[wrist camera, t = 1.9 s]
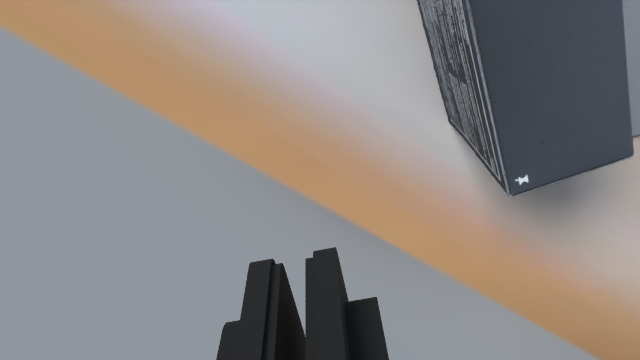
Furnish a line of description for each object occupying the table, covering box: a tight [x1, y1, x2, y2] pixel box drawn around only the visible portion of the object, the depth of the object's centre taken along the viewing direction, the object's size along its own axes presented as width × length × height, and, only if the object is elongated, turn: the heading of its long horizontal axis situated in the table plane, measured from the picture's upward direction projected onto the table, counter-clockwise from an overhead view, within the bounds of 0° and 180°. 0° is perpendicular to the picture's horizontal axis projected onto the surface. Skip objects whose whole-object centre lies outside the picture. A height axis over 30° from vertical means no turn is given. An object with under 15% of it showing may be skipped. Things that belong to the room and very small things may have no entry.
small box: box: [417, 0, 634, 197], centre depth 25 cm, size 11×6×10 cm, turn 21°
